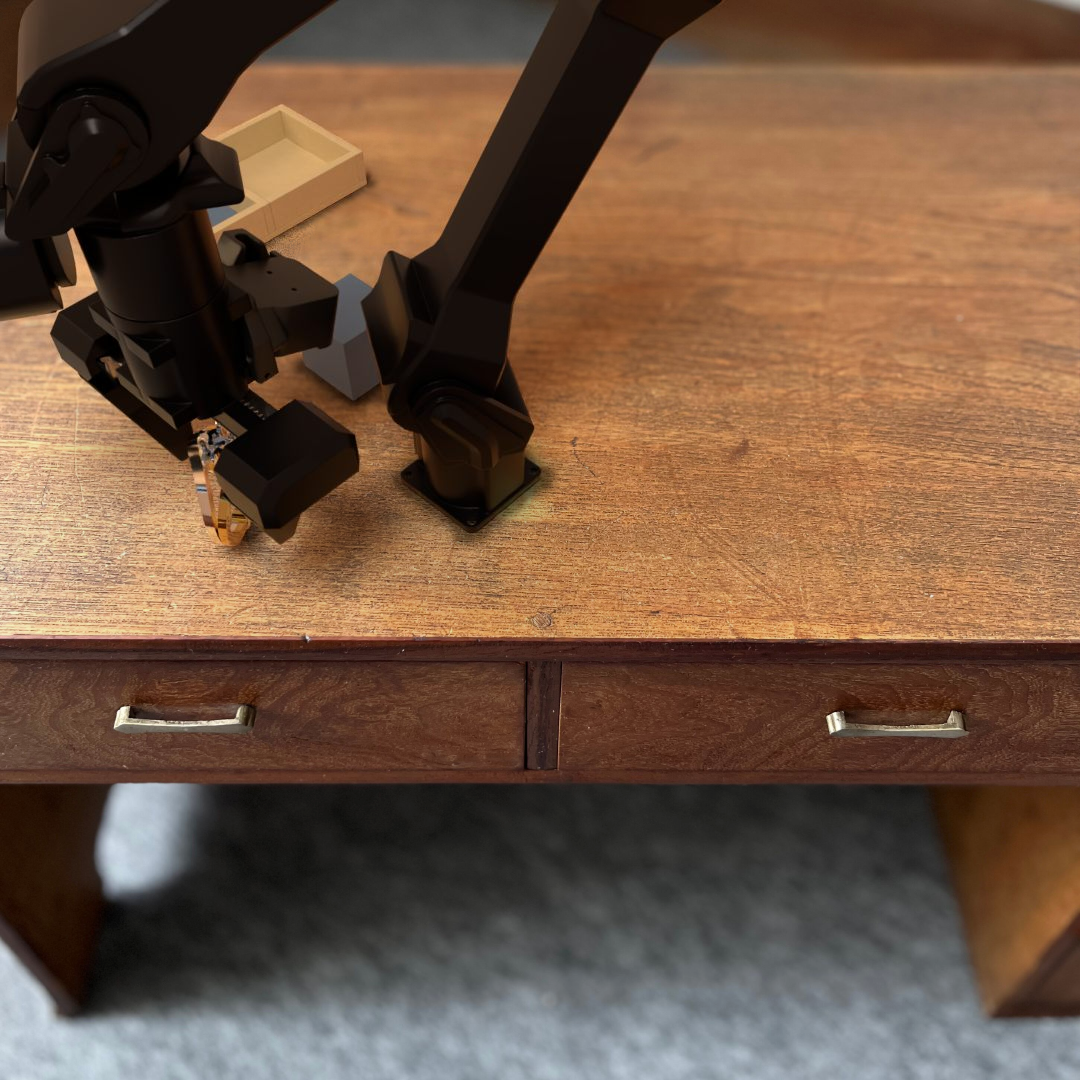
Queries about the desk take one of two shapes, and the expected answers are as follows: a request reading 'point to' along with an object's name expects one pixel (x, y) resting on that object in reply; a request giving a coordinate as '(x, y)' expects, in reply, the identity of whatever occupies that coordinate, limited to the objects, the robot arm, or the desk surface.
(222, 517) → the ring
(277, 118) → the tray
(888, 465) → the desk surface
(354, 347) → the blue block
